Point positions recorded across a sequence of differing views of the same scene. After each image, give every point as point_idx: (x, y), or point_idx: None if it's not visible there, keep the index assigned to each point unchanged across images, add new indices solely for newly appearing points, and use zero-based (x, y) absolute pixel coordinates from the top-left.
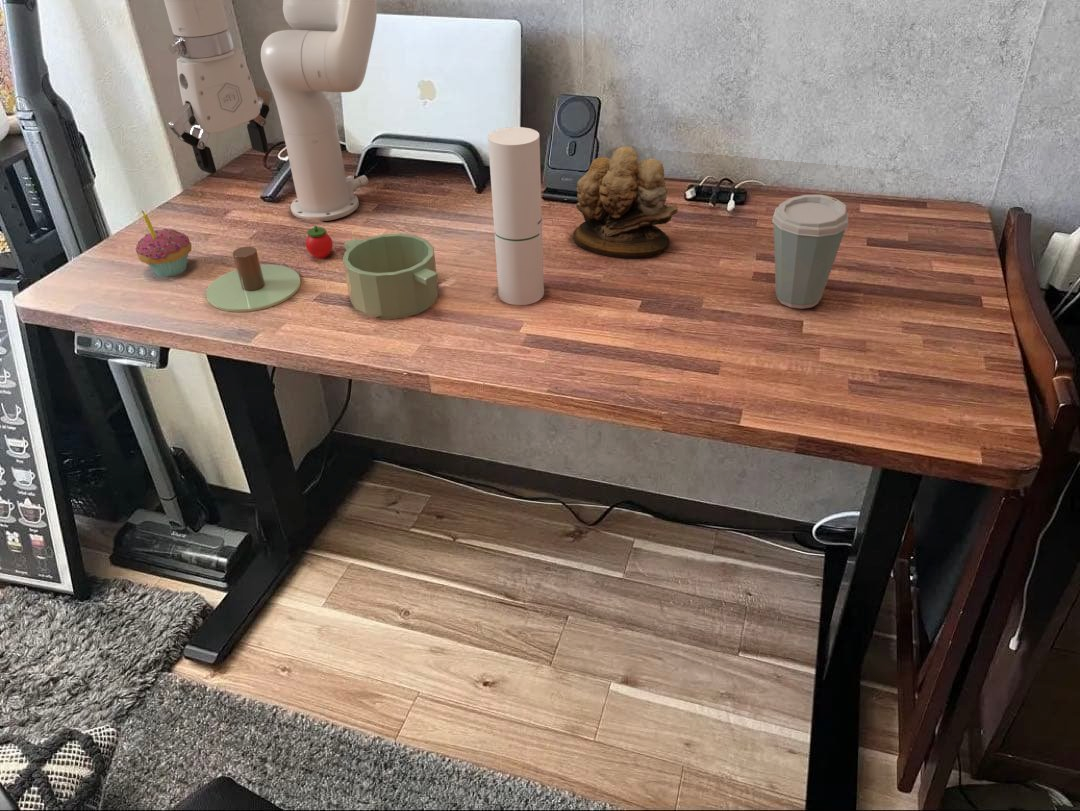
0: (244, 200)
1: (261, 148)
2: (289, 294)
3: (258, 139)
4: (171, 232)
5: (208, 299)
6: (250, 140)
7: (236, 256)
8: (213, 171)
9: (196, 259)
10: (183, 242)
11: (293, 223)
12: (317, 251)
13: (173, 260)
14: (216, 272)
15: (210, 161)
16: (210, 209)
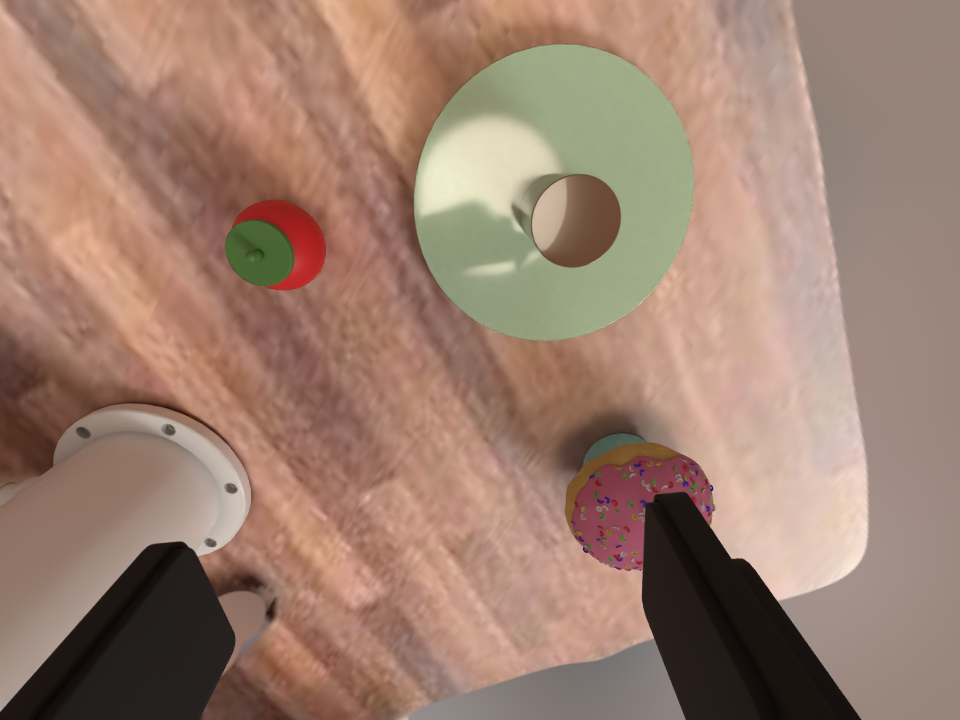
0: (310, 629)
1: (178, 586)
2: (514, 55)
3: (130, 669)
4: (618, 530)
5: (681, 241)
6: (200, 712)
7: (619, 209)
8: (683, 498)
9: (542, 476)
10: (611, 478)
11: (269, 469)
12: (306, 213)
13: (655, 443)
14: (550, 387)
15: (733, 567)
16: (388, 639)
